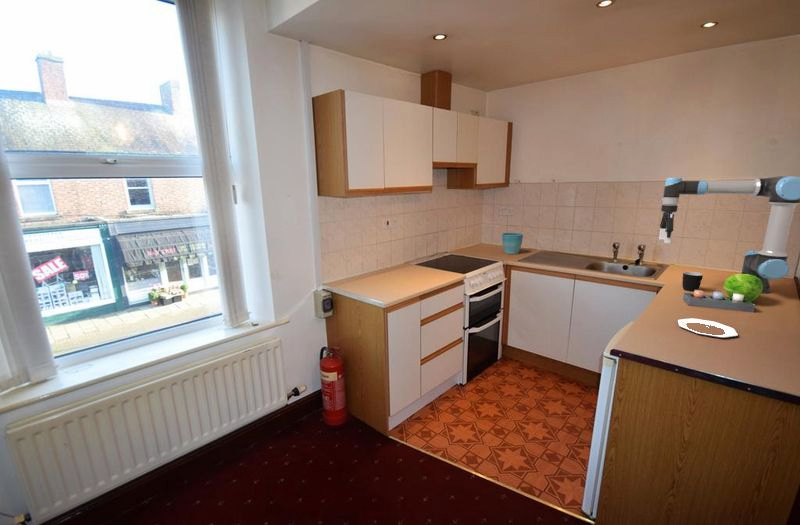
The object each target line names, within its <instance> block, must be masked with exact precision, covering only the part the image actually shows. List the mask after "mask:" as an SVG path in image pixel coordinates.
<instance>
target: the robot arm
mask: <svg viewBox="0 0 800 525" xmlns="http://www.w3.org/2000/svg"><path fill="white" fill-rule="evenodd" d="M663 189H664V190H663V196H662V198H661V201H662V205H661V210H660V211H661V212H663V213H662V218H661V220H660V224H659V228H660V229H659V236H658V240H663V243H664V244H670V243H671V240H672V233H673V232H674V219H675V213H677V212H678V205H679V202H680V196H681V195H688V196H689V195H691V196H693V195H698V196H701V195H706V194H707V195H708V194H709V195H710V194H711V195H752V196H753V197H763V198H764V197H765V198H769V199H768V204H769V205H770V206H771V208H770V212H769V217H768V222H767V226H766V231H765V235H764V240H763V246H762V249H761V250H747V251H746V252H745V254H744V255H743V256H744V257H743V264H742V269H741V273H740V274H749V275H753V276H756V277H757V278H759V279H760V280H761V282H762V285H763V289H762V292H761V294H768V293H771V284H770V280H771V281H773V280H774V281H775V280H779V279H782V278H783V277H786V276H787V275H788V274H789V272H790V265H789V263H788V258H789V256H788V254H787V253H786V247H787V243H788V239H789V234H790V229H791V227H792V222H793V217H794V213H795V209H796V206H798V205H800V177H799V176H794V175H789V176H786V175H785V176H781V175H780V176H774V177H773V176H771V177H765V178H764V177H762V178H761V177H758V178H757V177H756V178H755V179H754V180H753V179H751V180H750V179H748V180H746V179H744V180H738V179H737V180H735V179H734V180H733V179H732V180H729V179H727V180H689V179H688V180H687V179H686V180H683V177H667V178H666V179H665V183H664V188H663Z"/></svg>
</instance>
